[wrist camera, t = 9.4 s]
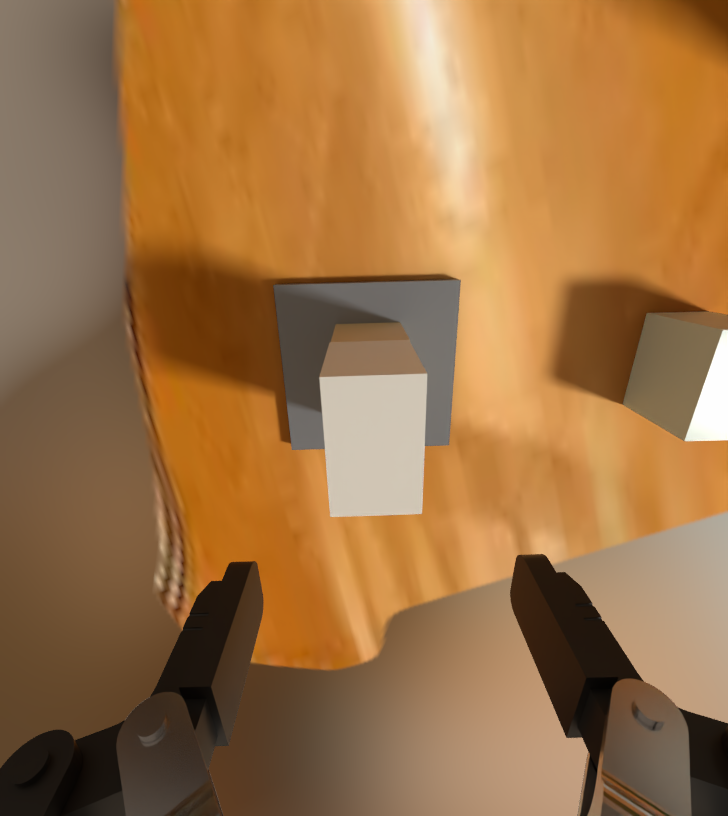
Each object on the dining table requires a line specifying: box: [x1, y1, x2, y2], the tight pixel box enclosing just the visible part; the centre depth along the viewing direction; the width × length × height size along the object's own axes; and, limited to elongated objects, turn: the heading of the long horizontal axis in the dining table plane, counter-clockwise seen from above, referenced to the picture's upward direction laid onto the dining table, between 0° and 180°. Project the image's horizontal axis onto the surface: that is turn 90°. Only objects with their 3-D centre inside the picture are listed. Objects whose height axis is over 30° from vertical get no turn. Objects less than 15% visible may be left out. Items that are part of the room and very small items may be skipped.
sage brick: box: [623, 311, 728, 441], centre depth 29 cm, size 8×5×7 cm, turn 1°
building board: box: [273, 279, 461, 450], centre depth 29 cm, size 14×14×7 cm
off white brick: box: [319, 340, 427, 517], centre depth 22 cm, size 8×5×7 cm, turn 2°
